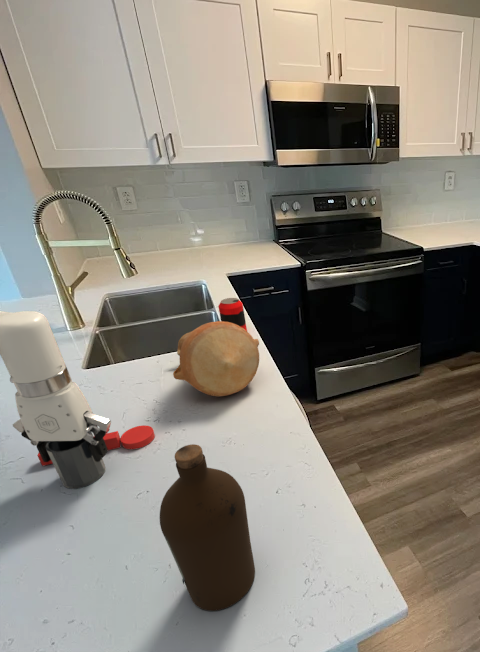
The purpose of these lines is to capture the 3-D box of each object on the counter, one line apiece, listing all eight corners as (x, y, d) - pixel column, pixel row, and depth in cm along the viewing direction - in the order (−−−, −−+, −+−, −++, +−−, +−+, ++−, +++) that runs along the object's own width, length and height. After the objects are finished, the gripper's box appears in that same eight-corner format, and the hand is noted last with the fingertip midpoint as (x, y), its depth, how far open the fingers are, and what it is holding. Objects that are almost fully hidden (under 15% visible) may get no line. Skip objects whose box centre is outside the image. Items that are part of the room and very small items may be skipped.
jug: (172, 380, 92) (137, 349, 113) (236, 418, 105) (193, 384, 126) (229, 310, 97) (185, 293, 118) (284, 354, 110) (235, 332, 131)
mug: (91, 488, 80) (75, 452, 76) (54, 488, 80) (35, 452, 76) (122, 450, 89) (110, 416, 85) (89, 451, 89) (74, 416, 85)
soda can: (243, 338, 139) (237, 305, 133) (220, 339, 139) (214, 305, 133) (250, 329, 145) (244, 296, 140) (228, 329, 145) (222, 296, 140)
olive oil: (261, 544, 69) (237, 421, 57) (257, 608, 60) (227, 476, 48) (193, 555, 67) (154, 431, 56) (177, 623, 58) (127, 490, 46)
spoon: (39, 472, 84) (34, 461, 82) (47, 453, 89) (42, 442, 88) (154, 444, 91) (151, 434, 90) (155, 428, 96) (152, 418, 95)
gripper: (-25, 393, 70) (17, 471, 78) (79, 392, 70) (110, 470, 78) (10, 371, 76) (45, 444, 84) (105, 370, 77) (131, 444, 84)
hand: (76, 457), depth 81 cm, fingers open, 9 cm apart
